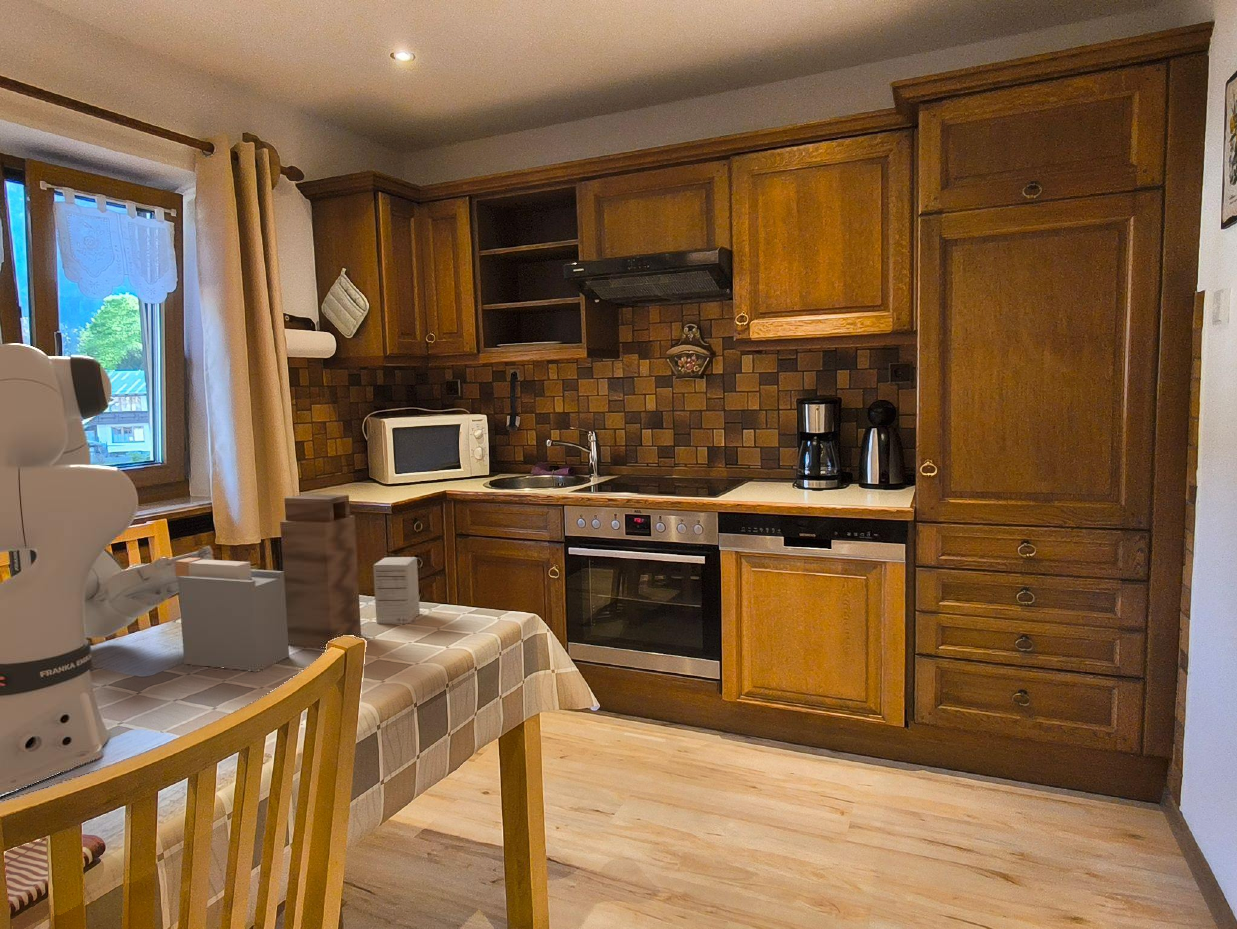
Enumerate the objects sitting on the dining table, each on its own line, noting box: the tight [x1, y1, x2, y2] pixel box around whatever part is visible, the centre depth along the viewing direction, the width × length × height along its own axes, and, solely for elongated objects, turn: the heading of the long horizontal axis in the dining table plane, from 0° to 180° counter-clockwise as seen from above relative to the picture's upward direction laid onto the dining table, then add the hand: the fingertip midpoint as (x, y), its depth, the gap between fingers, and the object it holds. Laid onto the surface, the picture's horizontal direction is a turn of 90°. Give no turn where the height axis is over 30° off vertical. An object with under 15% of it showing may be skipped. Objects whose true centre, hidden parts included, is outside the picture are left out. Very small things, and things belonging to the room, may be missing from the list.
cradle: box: [178, 568, 290, 673], centre depth 139 cm, size 8×16×16 cm, turn 73°
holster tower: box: [279, 493, 362, 650], centre depth 150 cm, size 9×10×28 cm
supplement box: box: [372, 556, 420, 624], centre depth 164 cm, size 7×7×13 cm
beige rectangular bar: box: [175, 557, 252, 580], centre depth 140 cm, size 3×14×3 cm, turn 73°
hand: (188, 555), depth 141 cm, fingers open, 8 cm apart
